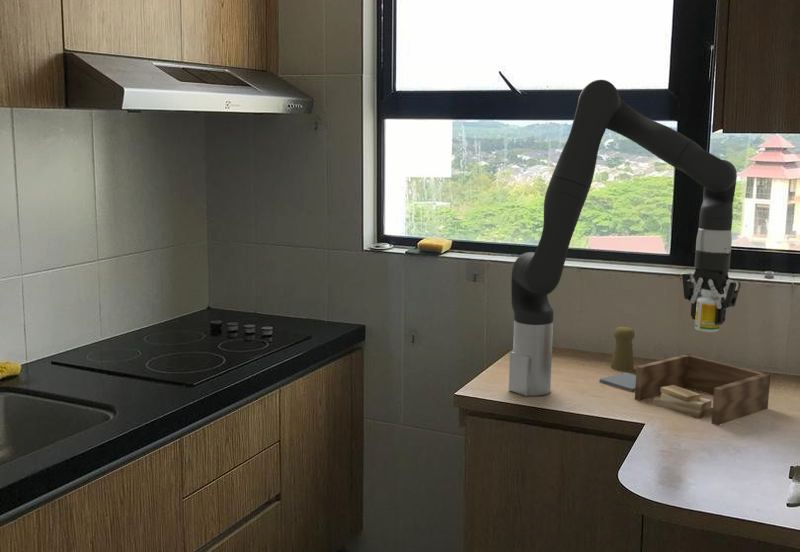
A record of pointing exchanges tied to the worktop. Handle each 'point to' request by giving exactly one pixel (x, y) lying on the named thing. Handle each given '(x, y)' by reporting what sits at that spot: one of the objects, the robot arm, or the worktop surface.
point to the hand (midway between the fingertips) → (707, 321)
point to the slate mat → (621, 381)
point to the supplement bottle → (706, 312)
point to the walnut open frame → (707, 384)
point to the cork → (623, 349)
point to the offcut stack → (683, 401)
